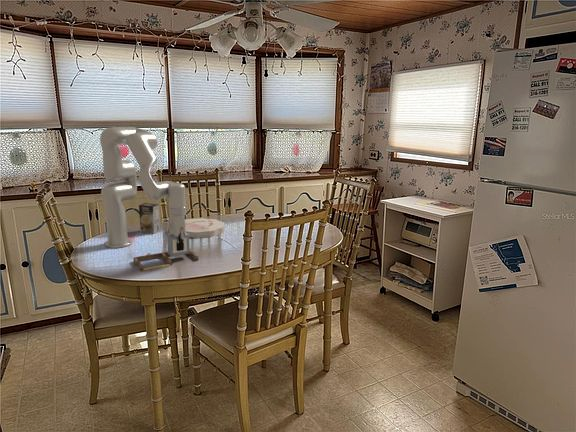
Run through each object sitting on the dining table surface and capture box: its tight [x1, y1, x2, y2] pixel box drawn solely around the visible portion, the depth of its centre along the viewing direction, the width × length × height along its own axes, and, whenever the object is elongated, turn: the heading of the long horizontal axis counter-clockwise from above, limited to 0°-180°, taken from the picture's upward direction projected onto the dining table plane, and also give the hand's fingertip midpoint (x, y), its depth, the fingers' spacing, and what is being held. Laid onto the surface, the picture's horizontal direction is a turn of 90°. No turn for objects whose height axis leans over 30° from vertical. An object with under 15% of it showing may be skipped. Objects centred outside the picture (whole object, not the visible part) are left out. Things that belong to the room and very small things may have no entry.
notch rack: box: [133, 248, 200, 272], centre depth 186 cm, size 14×26×3 cm, turn 123°
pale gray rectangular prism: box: [166, 233, 190, 257], centre depth 188 cm, size 4×9×9 cm, turn 123°
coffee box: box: [138, 202, 161, 235], centre depth 229 cm, size 9×6×16 cm
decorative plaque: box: [185, 217, 226, 239], centre depth 236 cm, size 30×4×30 cm
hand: (178, 248), depth 189 cm, fingers closed on pale gray rectangular prism, 4 cm apart
